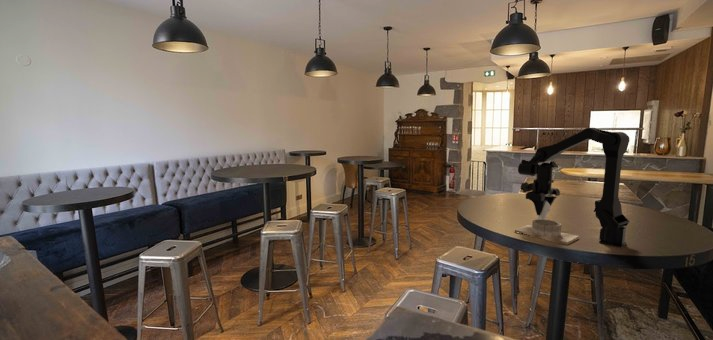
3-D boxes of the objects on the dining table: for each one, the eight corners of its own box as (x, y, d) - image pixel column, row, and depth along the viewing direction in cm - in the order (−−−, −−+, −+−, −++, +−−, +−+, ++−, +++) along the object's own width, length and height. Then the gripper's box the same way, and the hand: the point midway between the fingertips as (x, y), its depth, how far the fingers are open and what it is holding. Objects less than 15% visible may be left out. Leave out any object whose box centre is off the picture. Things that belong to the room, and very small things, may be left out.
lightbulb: (542, 228, 140) (543, 202, 139) (529, 224, 146) (531, 199, 145) (552, 226, 143) (554, 200, 141) (540, 222, 148) (541, 198, 147)
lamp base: (578, 238, 128) (579, 225, 127) (567, 244, 121) (568, 231, 120) (527, 227, 142) (528, 215, 142) (514, 232, 136) (515, 220, 135)
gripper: (534, 173, 154) (532, 207, 156) (513, 177, 142) (512, 213, 144) (561, 176, 145) (559, 211, 147) (541, 180, 134) (539, 219, 136)
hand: (541, 213), depth 144 cm, fingers closed on lightbulb, 6 cm apart
